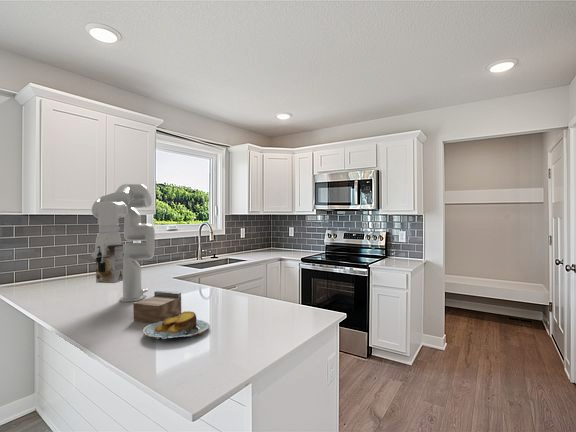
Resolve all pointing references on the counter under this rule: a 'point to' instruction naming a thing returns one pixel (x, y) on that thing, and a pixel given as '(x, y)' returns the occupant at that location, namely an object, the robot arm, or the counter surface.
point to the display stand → (157, 307)
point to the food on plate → (176, 326)
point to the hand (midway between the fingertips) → (109, 270)
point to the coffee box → (111, 266)
